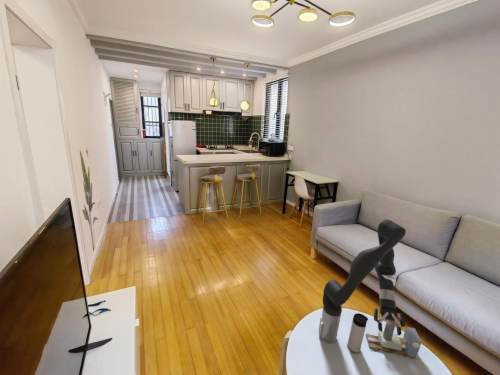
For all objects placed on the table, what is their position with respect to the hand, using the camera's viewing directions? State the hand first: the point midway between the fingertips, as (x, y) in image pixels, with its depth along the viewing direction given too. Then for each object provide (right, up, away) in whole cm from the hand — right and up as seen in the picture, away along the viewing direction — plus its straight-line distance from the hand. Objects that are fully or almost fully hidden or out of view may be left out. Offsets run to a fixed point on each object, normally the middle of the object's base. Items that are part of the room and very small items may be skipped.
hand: (389, 333), depth 121 cm
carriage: (+1, -7, +3) cm, 7 cm away
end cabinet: (+11, -9, +1) cm, 14 cm away
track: (+2, -9, +4) cm, 10 cm away
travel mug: (-18, -9, +2) cm, 20 cm away
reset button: (+7, -7, +2) cm, 10 cm away
